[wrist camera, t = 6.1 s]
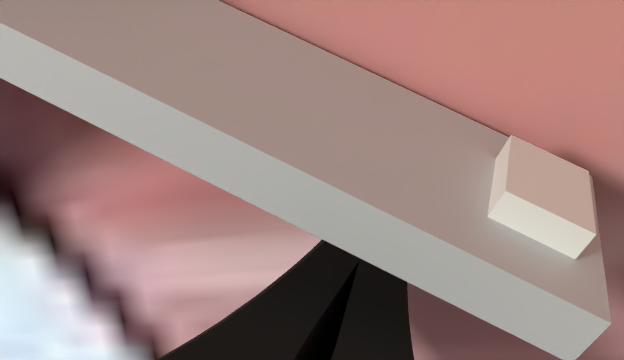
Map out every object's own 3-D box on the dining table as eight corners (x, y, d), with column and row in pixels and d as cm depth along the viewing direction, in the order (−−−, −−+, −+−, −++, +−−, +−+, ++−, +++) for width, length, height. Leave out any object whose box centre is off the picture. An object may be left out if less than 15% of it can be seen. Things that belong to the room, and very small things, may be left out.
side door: (609, 154, 9) (636, 298, 6) (560, 216, 10) (566, 369, 7) (80, -93, 10) (-97, -59, 7) (73, -17, 11) (-89, 39, 8)
